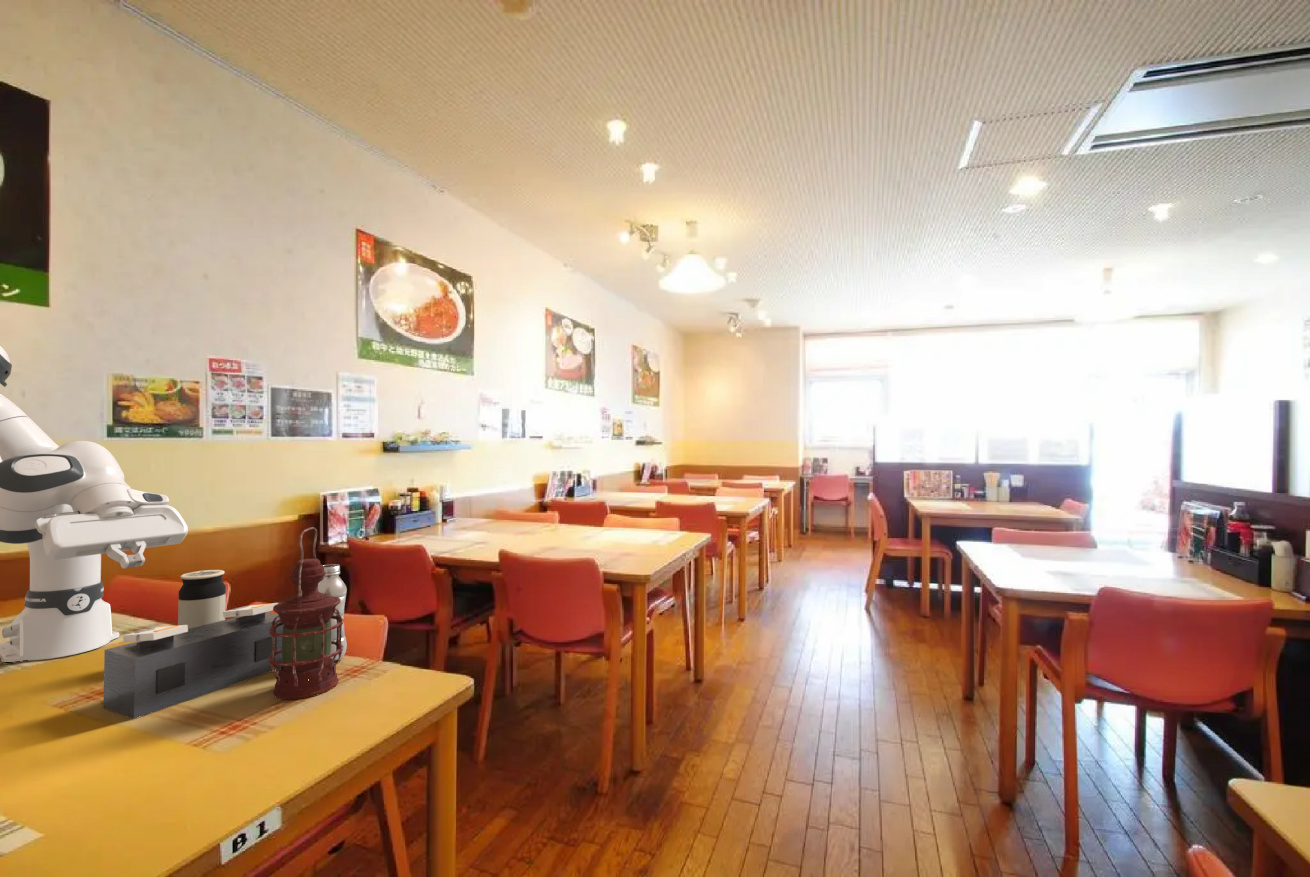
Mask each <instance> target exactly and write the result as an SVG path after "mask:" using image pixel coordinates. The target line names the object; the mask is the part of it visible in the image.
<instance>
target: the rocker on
mask: <svg viewBox="0 0 1310 877" xmlns="http://www.w3.org/2000/svg"><path fill="white" fill-rule="evenodd" d="M184 632H188V625H179V626H178V625H169V626H159V627H153V628H147V629H142V630H138V631H134V632H132V633H127V634H124V635H122V640H123V641H122V642H123V643H134V642H138V641H149V640H157V639H161V638H165V637H168V636H172V635H176V634H180V633H184Z"/></svg>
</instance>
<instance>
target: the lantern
mask: <svg viewBox="0 0 1310 877" xmlns="http://www.w3.org/2000/svg"><path fill="white" fill-rule="evenodd" d="M311 530H314V539H313V546H312V547H313V548H312V553H313V554H312V555H313V558H304V553H305V552H304V547H303V535H304V534H305V533H306V532H308V531H311ZM317 537H318V530H317V528H316V527H313V526H312V527H307V528H306V529H303V531H301V533H300V535H299V541H298V542H299V546H300V554H301V555H300V560H298V561H297V562H296V564H295V566H294V567H293V568H292V569H291V573H290V575H289V578H290V579H291V583H293V584H294V585H296V586H297V593H296V594H295V595H293V596H291V597H289V598H287V599H285V600H284V601H281V602H277V603H278V604H276V605H275V606H274V607H273V610H272V611H273V613H275V614H278V615H279V616H277V617H275V618H274V620H273V622H272V627H270V629H269V633H270V634H271V635H272V653H271V654H270V656H269V659H268V660H269V662H270V663H271V666H272V671H271V672H272V673H273V674H274V675H275V676H276V677H275V679H276V681H275V684H274V689H273V692H272V693H273V696H274V697H275V698H276V699H279V698H280V700H281V699H282V700H288V699H293V700H300V699H301V698H302V699H305V698H306V697H307V698H310V696H311V697H314V695H316V696H318V695H317V694H319V695H321V694H324V693H326V692H328V690H329V691H331V690H332V689H333V687H334V686H335V687H336V686H337V685H338V683H339V678H338V673H337V670H336V669H337V665H338V663H339V662H340V661H341V659H342V658H341V655H342V651H343V647H344V646H343V645H342V644H341V633H342V624H343V622H344V623H345V620H343V618H342V617H341V616H340V612H339V610H338V609H336V608H335V607H336V606H337V605H338V604H339V603H340V601H341V599H340V598H338V597H334V596H330V595H327V594H324V593H321V592H319V591H318V583H319V582H320V581H322V580H323V579H324V575H325V574H326V572H325V571H324V565H323V564H321V560H319V558H317V556H316V545H317V539H318V538H317ZM335 610H336V612H335ZM334 613H335V614H337V615H336V616H333V614H334ZM278 617H279V620H278V621H277V622H276V623H275V620H276V619H277V618H278ZM330 618H332V619H336V620H337V624H336V625H335V626H332V627H331V620H330ZM279 622H281V623H279ZM281 625H284V626H283V634H281V633H276V628H277V627H279V626H281ZM335 628H337V640H336V641H331V630H332V629H335ZM276 636H277V637H282V649H280V650H277V651H275V637H276ZM331 644H335V645H336V652H334V653H332V654H330V652H331ZM280 652H282V657H283V662H278V661H275V655H276V654H278V653H280ZM337 654H338V655H339V658H338V660H336V662H335V661H334V659H335V658H336V656H337ZM333 656H334V657H333ZM331 657H333V659H332V658H331ZM276 665H281V666H282V667H281V668H280V669H279V668H278V667H277V666H276ZM275 668H276V669H277V671H276V670H275ZM308 679H309V681H308ZM335 687H334V688H335ZM330 689H331V690H330ZM323 692H324V693H323ZM302 699H301V700H302Z"/></svg>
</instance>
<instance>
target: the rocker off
mask: <svg viewBox="0 0 1310 877" xmlns="http://www.w3.org/2000/svg"><path fill="white" fill-rule="evenodd" d="M278 603H279V602H273V603H264V604H252V605H246V606H244V605H243V606H241V607H236V608H232V609H229V610H225V612H223V618H225V619H229V618H235V617H239V616H250V615H256V614H260V613H264V612H271V611H273V607H274V606H275V605H276V604H278Z"/></svg>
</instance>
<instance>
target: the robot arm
mask: <svg viewBox="0 0 1310 877" xmlns="http://www.w3.org/2000/svg"><path fill="white" fill-rule="evenodd" d="M12 368H13V365H12V363H11V360H10V357H9V354H8V353H7V351H6V350H5V349H4V347H3V346H1V345H0V385H1V386H2V387H4V388H6V387H7V385H8V383H7V382H6V380H7V379H8V378H9V377H10V376H11V372H12ZM169 502H170V498H169V497H168V495H167V494H166V495H165V494H162V493H154V492H146V491H143V490H137V489H133V488H132V487H131V486H130V485H129V484H128V483H126V480H125V473H124V472H123V469H122V468H121V466H120V464H119V462H118V461H117V460H116V458H115V457H114V455H113V454H112V453H111V452H110V450H108V448H106V447H104V446H103V445H102V444H99V443H97V442H94V441H90V440H88V441H87V440H75V441H70V442H66V443H63V444H62V445H58V444H57V443H56V442H55V441H54V440H53V439H52V438H51V437H50V436H49V435H48V434H47V433H46V432H45V431H44V430H43V429H42V428H41V427H40V426H39V425H38V424H37V423H36V422H34V421H33V419H32V418H31V417H29V416H28V415H27V413H25V412H24V410H22V409H21V408H20V407H19V406H18V405H17V404H15V403H14V402H13V401H11V400H10V399H9V398H8V397H6V396H4V395H3V394H1V393H0V543H5V544H11V545H12V544H15V545H16V544H17V545H18V544H19V545H20V544H26V545H27V549H28V555H29V589H28V590H27V591H26V594H25V596H24V600H25V601H24V603H23V604H24V605H23V606H24V609H23V610H22V611H21V612H19V614H18V615H17V616H16V618H14V619H13V620H12V621H11V624H10V626H6V627H3V628H2V629H1V630H2V631H1V635H2V636H1V637H2V639H7V638H9V641H5V642H2V643H0V658H1V660H3V661H4V662H13V661H20V662H24V661H23V660H28V661H40V660H49V659H55V658H62V657H63V658H64V657H67V656H74V655H77V654H81V653H85V652H88V651H92V650H95V649H98V648H101V647H104V646H105V645H107V644H108V643H110V641H112V640H115V639H117V638H119V637H120V632H119V631H113V628H112V626H113V625H112V624H113V623H112V612H111V611H112V610H111V604H110V603H109V602H107V601H104V600H103V599H102V598H103V597H104V590H105V589H104V588H105V587H104V582H103V581H102V580H101V577H102V554H106V555H107V557H108V558H110V559H112V560H113V561H115V562H117V563H119V565H120V567H121V569H128V568H134V567H141V566H144V564H145V562H146V558H145V556H144V552H145V550H146V549H149V548H157V547H164V546H171V545H179V544H181V543H182V542H184V541H183V540H185V538H186V536H187V535H188V532H189V527H188V524H187V522H186V521H185V519H184V518H183V516H182V515H181V513H180V512H179V511H178V509H176V508H175V507H173V506H172V505H169ZM127 551H132V553H133V554H126V552H127ZM1 660H0V661H1ZM13 663H14V662H13Z"/></svg>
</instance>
